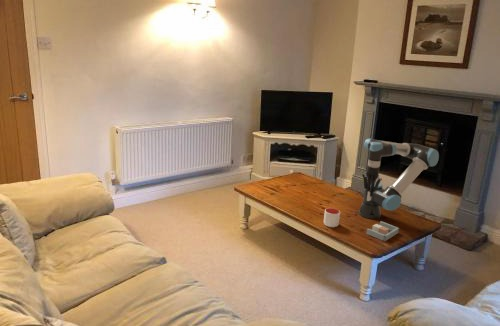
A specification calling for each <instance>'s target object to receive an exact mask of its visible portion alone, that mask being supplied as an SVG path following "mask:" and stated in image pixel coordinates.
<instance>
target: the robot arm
mask: <svg viewBox="0 0 500 326" xmlns="http://www.w3.org/2000/svg"><path fill="white" fill-rule="evenodd" d="M363 147H364V148H365V149H366V150H368V151H369V153H368V161H367V168H366V172H365V173H364V174H361V175H362V178H363V190H364V191H363V197H362V198H363V199H362V203H361V205H360V207H359V210H358V214H359V216H361V217H363V218H365V219H371V220H372V219H373V220H375V219H380V218H381V215H382V213H381V212H382V211H381V208H383V209H384V210H387V211H392V212H393V211H395V210H397V209H398V208H399V207H400V205H401V203H402V198H403V193H404V192H405V191H406V190H407V189H408V188H409V186H410V185H411V184H412V183H413V182H414V181H415V180H416V178H417V177H418V176H419V175H420V174H421V172H423V171H424V170H427V169H428V168H429V167H435V166H436V165H437V164H438V161H439V158H440V154H439V151H438V150H437V149H435V148H433V147H429V146H425V145H422V144H418V143H412V142H411V143H409V142H402V143H397V142H394V141H393V142H392V141H385V140H378V139H373V138H369V137H368V138H367V139H365V141H364V143H363ZM394 155H400V156H402V157H405V158H408V159H411V160H412V162H411V163H410V164H409V165H408V167H407V168H406V169H405V170H404V171H403V172H402V173H401V174H400V175H399V177H397V178H396V180H395V181H394V182H393V183H392V185H388V186H386V188H385V189H384V188H383V184H381V181H382V180H383V179H382V178H380V175H379V173H380V167H381V163H382V162H381V161H382V157H390V156H394Z"/></svg>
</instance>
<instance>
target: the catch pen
mask: <svg viewBox="0 0 500 326" xmlns="http://www.w3.org/2000/svg"><path fill="white" fill-rule="evenodd" d="M379 225H381V226H384V227H386V228H389V231H388V233H387V234H386V235H383V234H381V233H378V232H376V231H373V230H372V228H367V229H366V231H365V232H366V235H368V236H371V237H373V238H376V239H378V240H380V241H382V242H387V241H388V240H389V239H391V238H392V237H395V236H396V235H397V234H399V230H400V227H398V226H394V225H392V224H389V223H387V222H384V221H379Z"/></svg>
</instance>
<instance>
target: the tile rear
mask: <svg viewBox="0 0 500 326" xmlns="http://www.w3.org/2000/svg"><path fill="white" fill-rule="evenodd" d="M371 227H372V228H371V230H373V231H376V232H378V231H379V228H380V227H382V226H381V225H380V224H378V223H375V224H372V226H371Z"/></svg>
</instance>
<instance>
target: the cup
mask: <svg viewBox="0 0 500 326" xmlns="http://www.w3.org/2000/svg"><path fill="white" fill-rule="evenodd" d="M340 217H341V211H340V210H339V209H338V208H335V207H328V208H325V210H324V216H323V224H324V225H325V226H326V227H329V228H337V227H338V226H339V224H340Z"/></svg>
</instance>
